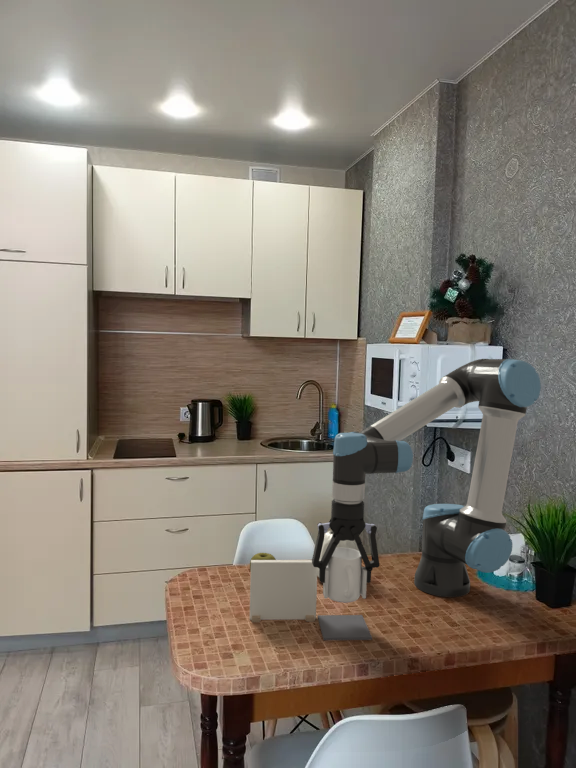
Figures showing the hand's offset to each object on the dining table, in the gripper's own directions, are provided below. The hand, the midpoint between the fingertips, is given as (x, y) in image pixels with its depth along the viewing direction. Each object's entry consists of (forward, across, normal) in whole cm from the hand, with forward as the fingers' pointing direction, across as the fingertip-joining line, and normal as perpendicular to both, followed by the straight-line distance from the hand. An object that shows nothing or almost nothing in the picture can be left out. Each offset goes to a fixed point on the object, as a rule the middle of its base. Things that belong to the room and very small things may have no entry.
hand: (344, 595), depth 133 cm
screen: (+8, +14, -6) cm, 17 cm away
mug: (+1, 0, 0) cm, 1 cm away
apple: (+8, +18, -29) cm, 35 cm away
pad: (+8, 0, 0) cm, 8 cm away
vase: (+8, -3, -30) cm, 31 cm away
